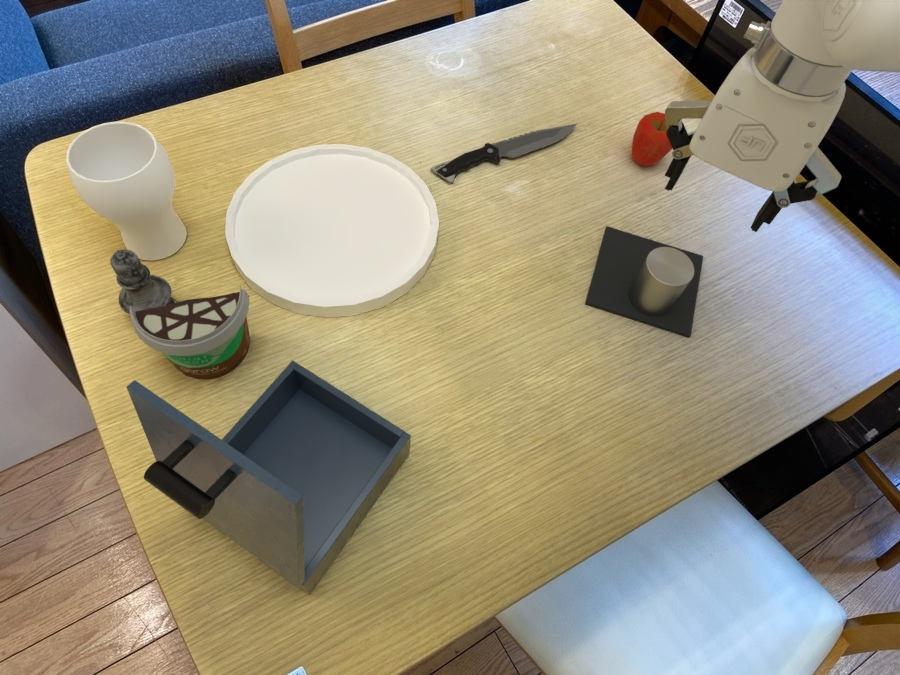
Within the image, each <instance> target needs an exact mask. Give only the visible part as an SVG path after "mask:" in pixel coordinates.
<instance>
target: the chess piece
mask: <svg viewBox="0 0 900 675" xmlns="http://www.w3.org/2000/svg"><path fill="white" fill-rule="evenodd" d="M109 263H110V266H111V269H112V270H113V271H114V273H115V275H116V283H117V284H118V285H119V287H120V288H121V290H120V291H119V294H118V304H119V307H120V309H122V311H123V312H124V313H126V315H127V314H128V315H129V316H130V311H129V310H130V306H131V307H132V308H133V309H134V310H135V311H140V310H146V309H152V308H157V307H162V306H166V305H170V304H174V303H177V302H176V300H175V299H174V298H173V297H172V287H171V285H170V283H169V282H168V281H167V279H165V278H163V277H161V276H159V275H155V274H151V271H150V268H149V267H148V266H147V265H145V264H143V263H142V262H141V259H139V258H138V256H137V255H136V254H135V253H134V252H133V251H131V250H127V249H126V248H125V249H123V248H122V249H117V250H116V251H115V252H114V253H113V254H112V255H111V257H110V260H109Z"/></svg>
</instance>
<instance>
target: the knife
mask: <svg viewBox="0 0 900 675" xmlns="http://www.w3.org/2000/svg"><path fill="white" fill-rule="evenodd" d="M577 125H578V123H572V124H567V125H566V124H565V125H562V126H561V125H560V126H556V127H549V128H543V129H539V130H538V129H537V130H535V131H534V130H533V131H529V132H525V133H524V134H520V135H518V136H517V135H516V136H513V137H510V138H507V139H503V140H500V141H497V142H494V143H493V142H492V143H490V142H485V144H484V146H483V147H480V148H477V149H473V150H471V151H467V152H463V153H462V154H460V155H458V156H457V157H455V158H453V159H450V160H447V161H444V162H440V163H437V164H436V165H433V166H432V167H430V169H429V170H430V171H432V172H433V173H434V174H436V176H437V177H439V178H440V179H441V180H445V181H447V182H448V183H449V184H451V183H454V182H455V177H456V176H457V175H459V173H460V172H462V171H466V170H469V169H471V167H472V166H475V165H480V164H482V162H485V161H490V162H492V163H494V164H496V165H499V164H500V163H501V158H503V157H506V158H509V159H514V158H517V157H520V156H522V155H525V154H528V153H531V152H534V151H536V150H539V149H542V148H545V147H548V146H550V145H553V144H556V143H557V142H559V141H561V140H562V139H564V138H565V137H567V136H568V135H569V134H570V133H571V132H572V131H573V130H574V129H575V127H576V126H577ZM438 168H439V169H438Z"/></svg>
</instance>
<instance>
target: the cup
mask: <svg viewBox="0 0 900 675" xmlns="http://www.w3.org/2000/svg"><path fill="white" fill-rule="evenodd" d="M65 160H66V161H65V162H66V166H67V170H68V174H69V178H70V181H71V184H72V186H73V187H74V189H75V191H76V193H77V194H78V196H79V197H80V199H81V200H82V202H84V204H86V206H88V207H89V208H90V209H91V210H92V211H93V212H95V213H96V214H97V215H98V216H100V217H101V218H103V219H105V220H108V221H109V222H112V223H113V224H114V225H115V226H116V227H117V228H118V229H119V232H120V235H121V239H122V241H123V244H124V247H125V249H126V250H131V251H133V252H134V253H135V254H136V255H137V256H138V258H139V260H142V261H159V260H164V259H167V258H169V257H171V256H172V255H174V254H175V253H177V252H178V251H179V250H180V249H182V247H183V246H184V244H185V242H186V240H187V235H188V233H187V228H186V226H185V224H184V222H183V221H182V219H181V217H180V216H179V215H178V214H177V212H176V211H175V210H174V206H173V199H174V195H175V190H176V188H175V187H176V183H175V182H176V181H175V180H176V179H175V170H174V166H173V164H172V162H171V159H170V156H169V155H168V153H167V151H166V149H165V148H164V146H162V143H160V141H159V140H158V139H157V138H156V136H155V135H154V134H153V133H152V132H151V131H150V130H149V129H148V128H146V127H145V126H142V125H139V124H137V123H135V122H134V123H133V122H129V121H110V122H103V123H101V124H96V125H94V126H92V127H90V128H88V129H86V130H83V131H82V132H81V133H79V134H78V135H77V136H76V137H74V138H73V140H72V142H71V143H70V144H69V146H68V148H67V151H66V154H65Z"/></svg>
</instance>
